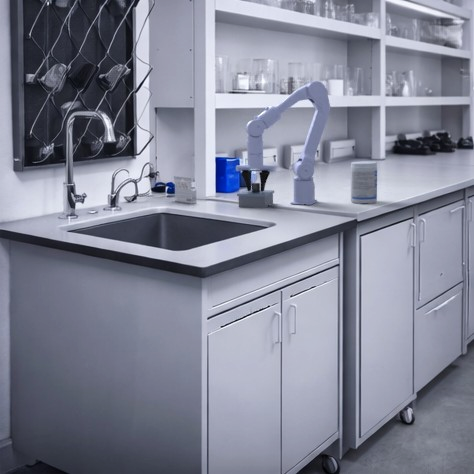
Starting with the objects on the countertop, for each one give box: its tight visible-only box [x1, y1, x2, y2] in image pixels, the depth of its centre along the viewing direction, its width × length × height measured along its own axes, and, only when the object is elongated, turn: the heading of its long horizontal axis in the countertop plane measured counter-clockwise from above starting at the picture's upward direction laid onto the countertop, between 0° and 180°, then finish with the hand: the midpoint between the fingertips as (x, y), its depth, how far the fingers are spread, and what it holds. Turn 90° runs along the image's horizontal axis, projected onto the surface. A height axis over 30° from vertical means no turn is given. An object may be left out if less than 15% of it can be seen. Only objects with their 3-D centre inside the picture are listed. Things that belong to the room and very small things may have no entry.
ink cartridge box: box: [173, 175, 197, 205], centre depth 260 cm, size 2×11×10 cm, turn 41°
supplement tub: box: [350, 160, 378, 204], centre depth 249 cm, size 10×10×15 cm
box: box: [238, 193, 274, 209], centre depth 250 cm, size 10×10×4 cm
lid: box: [236, 182, 275, 197], centre depth 249 cm, size 11×11×4 cm
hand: (255, 190), depth 249 cm, fingers open, 4 cm apart
